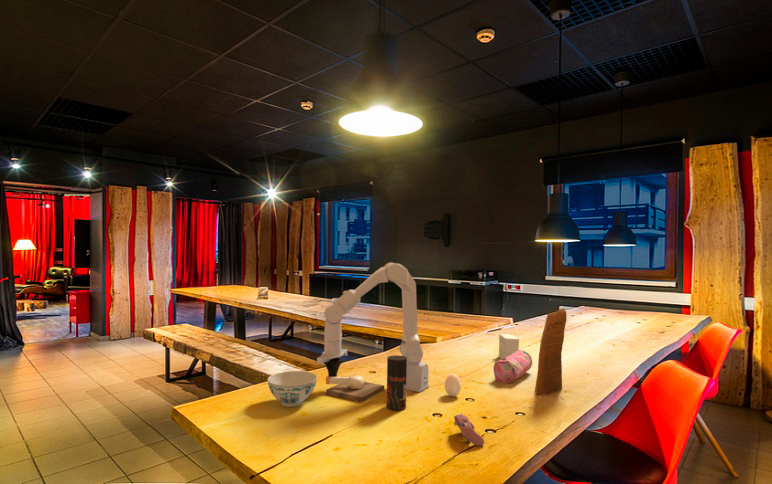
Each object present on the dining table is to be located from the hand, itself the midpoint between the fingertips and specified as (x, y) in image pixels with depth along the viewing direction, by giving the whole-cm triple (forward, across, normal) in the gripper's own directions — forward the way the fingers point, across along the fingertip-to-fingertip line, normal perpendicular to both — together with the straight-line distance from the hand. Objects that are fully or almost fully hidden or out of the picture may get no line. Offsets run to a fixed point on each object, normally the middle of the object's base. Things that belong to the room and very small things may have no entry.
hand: (332, 380), depth 146 cm
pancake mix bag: (+4, -41, +64) cm, 76 cm away
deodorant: (+3, +2, +26) cm, 26 cm away
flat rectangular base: (+3, -2, +8) cm, 9 cm away
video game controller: (+4, +12, +52) cm, 53 cm away
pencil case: (+4, -50, +49) cm, 70 cm away
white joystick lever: (+1, -1, +5) cm, 5 cm away
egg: (+4, -17, +37) cm, 41 cm away
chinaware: (+3, +16, -3) cm, 17 cm away
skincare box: (+4, -76, +41) cm, 86 cm away
